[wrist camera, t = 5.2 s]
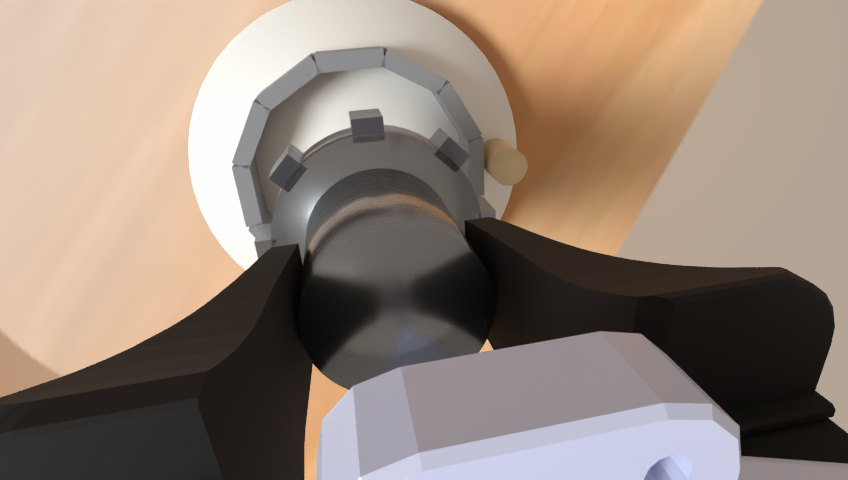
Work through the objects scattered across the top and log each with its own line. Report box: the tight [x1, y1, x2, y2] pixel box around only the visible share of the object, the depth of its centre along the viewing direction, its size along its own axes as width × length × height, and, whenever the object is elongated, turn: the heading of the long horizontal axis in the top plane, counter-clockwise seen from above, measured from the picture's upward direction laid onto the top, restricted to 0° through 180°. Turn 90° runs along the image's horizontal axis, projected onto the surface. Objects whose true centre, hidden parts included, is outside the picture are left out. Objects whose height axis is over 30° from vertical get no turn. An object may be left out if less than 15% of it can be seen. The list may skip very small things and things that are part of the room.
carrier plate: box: [188, 0, 528, 270], centre depth 19 cm, size 13×13×3 cm
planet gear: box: [254, 108, 496, 390], centre depth 12 cm, size 7×7×5 cm
